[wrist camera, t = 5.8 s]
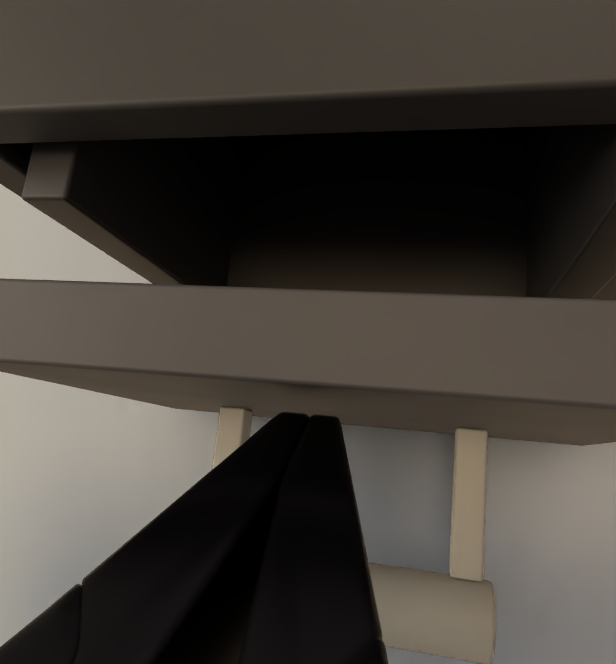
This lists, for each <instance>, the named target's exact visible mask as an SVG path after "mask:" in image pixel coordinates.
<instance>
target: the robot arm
mask: <svg viewBox="0 0 616 664" xmlns="http://www.w3.org/2000/svg"><path fill="white" fill-rule="evenodd" d="M0 664H388V658H387V653H386V648H385V644H384V642H383V641H382V630H381V625H380V620H379V615H378V610H377V605H376V600H375V594H374V589H373V584H372V579H371V574H370V569H369V564H368V559H367V554H366V549H365V544H364V539H363V534H362V529H361V524H360V519H359V514H358V508H357V503H356V498H355V493H354V488H353V483H352V478H351V473H350V468H349V463H348V458H347V453H346V448H345V443H344V438H343V433H342V427H341V423H340V419H339V418H338V417H336V416H327V415H316V414H315V415H312V416H310V417H309V416H308V415H307V414H305V413H294V412H281V413H279V414H278V415H276V416H275V417H274V418H273V419H272V420H270V421H269V422H268V423H267V424H266V425H264V426H263V427H262V428H261V429H260V430H259V431H257V432H256V433H255V434H254V435H253V436H251V437H250V438H249V439H248V440H247V441H246V442H244V443H243V444H242V445H241V446H240V447H238V448H237V449H236V450H235V451H234V452H233V453H231V454H230V455H229V456H228V457H227V458H225V459H224V460H223V461H222V462H221V463H220V464H218V465H217V466H216V467H215V468H214V469H212V470H211V471H210V472H209V473H208V474H207V475H205V476H204V477H203V478H202V479H201V480H199V481H198V482H197V483H196V484H195V485H194V486H192V487H191V488H190V489H189V490H188V491H186V492H185V493H184V494H183V495H182V496H181V497H179V498H178V499H177V500H176V501H175V502H173V503H172V504H171V505H170V506H169V507H168V508H166V509H165V510H164V511H163V512H162V513H160V514H159V515H158V516H157V517H156V518H155V519H153V520H152V521H151V522H150V523H149V524H147V525H146V526H145V527H144V528H143V529H142V530H140V531H139V532H138V533H137V534H136V535H134V536H133V537H132V538H131V539H130V540H129V541H127V542H126V543H125V544H124V545H123V546H121V547H120V548H119V549H118V550H117V551H116V552H114V553H113V554H112V555H111V556H110V557H108V558H107V559H106V560H105V561H104V562H103V563H101V564H100V565H99V566H98V567H97V568H95V569H94V570H93V571H92V572H91V573H90V574H88V575H87V576H86V577H85V578H84V579H83V581H82V585H80V584H77V585H75V586H74V587H73V588H71V589H70V590H69V591H68V592H67V593H66V594H64V595H63V596H62V597H61V598H60V599H58V600H57V601H56V602H55V603H54V604H53V605H51V606H50V607H49V608H48V609H47V610H45V611H44V612H43V613H42V614H40V615H39V616H38V617H37V618H35V619H34V620H33V621H32V622H31V623H29V624H28V625H27V626H26V627H24V628H23V629H22V630H21V631H19V632H18V633H17V634H16V635H15V636H13V637H12V638H11V639H10V640H8V641H7V642H6V643H5V644H3V645H2V646H1V647H0Z"/></svg>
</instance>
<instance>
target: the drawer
mask: <svg viewBox="0 0 616 664" xmlns="http://www.w3.org/2000/svg"><path fill="white" fill-rule="evenodd" d="M22 199H23V200H25V201H26V202H28V203H29V204H31V205H32V206H34V207H35V208H37V209H38V210H40V211H42V212H43V213H45V214H46V215H48V216H49V217H51V218H52V219H54V220H55V221H57V222H59V223H60V224H62V225H63V226H65V227H66V228H68V229H69V230H71V231H72V232H74V233H76V234H77V235H79V236H80V237H82V238H83V239H85V240H86V241H88V242H89V243H91V244H93V245H94V246H96V247H97V248H99V249H100V250H102V251H103V252H105V253H106V254H108V255H110V256H111V257H113V258H114V259H116V260H117V261H119V262H120V263H122V264H123V265H125V266H127V267H128V268H130V269H131V270H133V271H134V272H136V273H137V274H139V275H140V276H142V277H144V278H145V279H147V280H148V281H150V282H151V283H153V284H141V283H112V282H84V281H55V280H26V279H0V371H1V372H5V373H10V374H15V375H20V376H24V377H29V378H34V379H38V380H43V381H48V382H53V383H57V384H62V385H67V386H72V387H76V388H81V389H86V390H90V391H95V392H100V393H105V394H109V395H114V396H119V397H124V398H128V399H133V400H138V401H142V402H147V403H152V404H157V405H161V406H166V407H171V408H176V409H186V410H197V411H208V412H219V420H218V428H217V435H216V443H215V450H214V458H213V465H212V469H214V468H215V467H216V466H217V465H218V464H220V463H221V462H222V461H223V460H224V459H225V458H227V457H228V456H229V455H230V454H231V453H233V452H234V451H235V450H236V449H237V448H238V447H240V446H241V445H242V444H243V443H244V442H246V441H247V440H248V439H249V438H250V432H251V424H252V416H263V417H275V416H276V415H278V414H279V413H281V412H294V413H305V414H307V415H308V416H309V417H310V416H312V415H315V414H316V415H327V416H336V417H338V418H339V419H340V423H341V424H351V425H362V426H373V427H384V428H395V429H406V430H417V431H428V432H439V433H450V434H455V447H454V470H453V492H452V515H451V538H450V561H449V571H450V575H449V574H442V573H435V572H428V571H422V570H415V569H408V568H401V567H395V566H388V565H381V564H374V563H368V564H369V569H370V574H371V579H372V584H373V589H374V594H375V600H376V605H377V610H378V615H379V620H380V625H381V630H382V641H383V642H384V644H385V646H388V647H393V648H399V649H404V650H410V651H415V652H421V653H426V654H432V655H437V656H443V657H448V658H454V659H459V660H465V661H470V662H476V663H481V664H491V663H492V661H493V658H494V652H495V641H496V603H495V593H494V588H493V585H492V583H491V582H490V581H488V580H483V575H484V543H485V511H486V479H487V448H488V437H493V438H504V439H515V440H526V441H537V442H548V443H559V444H570V445H581V446H582V445H591V444H601V443H610V442H616V300H600V299H592V298H593V297H594V296H595V295H596V294H597V293H598V292H599V291H600V290H601V289H602V288H603V287H604V286H605V285H606V284H607V283H608V282H609V281H610V280H611V279H612V278H613V277H614V276H615V275H616V124H604V125H572V126H541V127H509V128H478V129H446V130H415V131H383V132H352V133H320V134H289V135H257V136H226V137H194V138H163V139H131V140H100V141H68V142H37V143H34V144H33V148H32V153H31V157H30V162H29V166H28V170H27V175H26V179H25V183H24V188H23V192H22Z"/></svg>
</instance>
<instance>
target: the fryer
mask: <svg viewBox="0 0 616 664" xmlns="http://www.w3.org/2000/svg"><path fill="white" fill-rule="evenodd" d="M604 124H616V0H0V184H2V185H3V186H5V187H6V188H8V189H10V190H11V191H13V192H14V193H16V194H17V195H19V196H20V197H22V192H23V188H24V183H25V179H26V175H27V170H28V166H29V162H30V157H31V153H32V148H33V144H34V143H37V142H68V141H100V140H131V139H163V138H194V137H226V136H257V135H289V134H320V133H352V132H383V131H415V130H446V129H478V128H509V127H541V126H572V125H604ZM592 299H600V300H616V275H615V276H614V277H613V278H612V279H611V280H610V281H609V282H608V283H607V284H606V285H605V286H604V287H603V288H602V289H601V290H600V291H599V292H598V293H597V294H596V295H595V296H594V297H593V298H592Z"/></svg>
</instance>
